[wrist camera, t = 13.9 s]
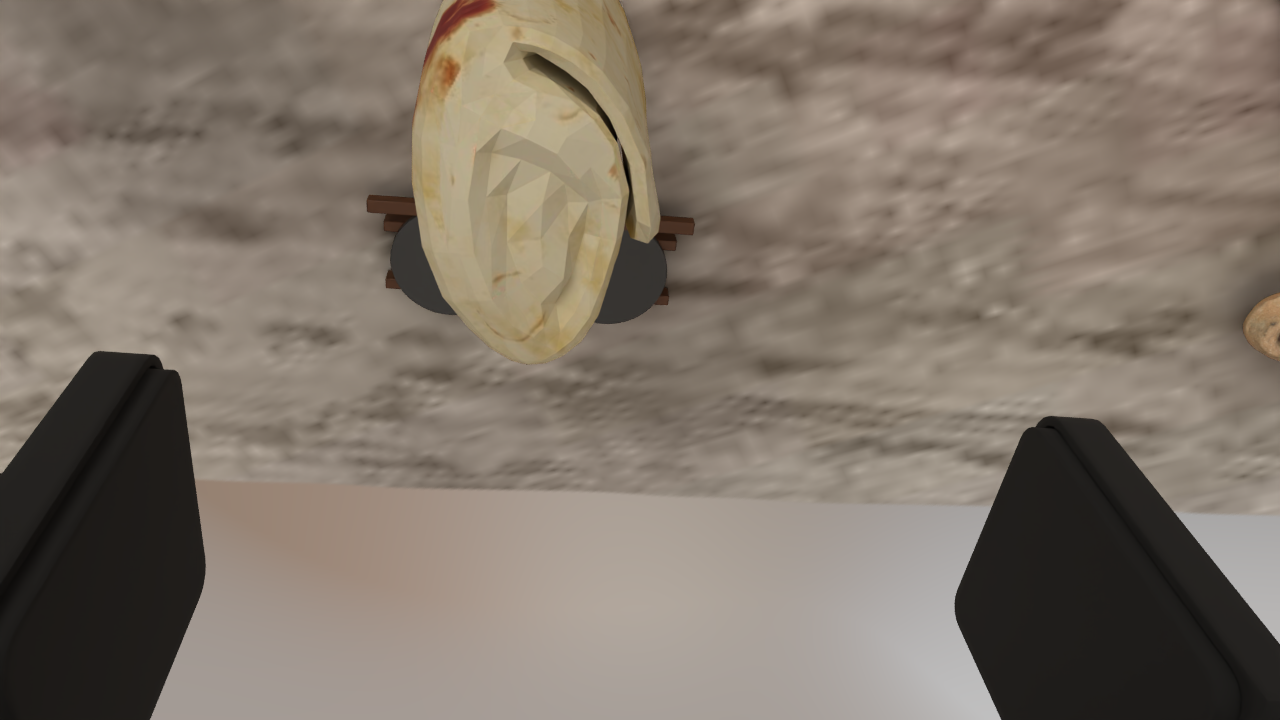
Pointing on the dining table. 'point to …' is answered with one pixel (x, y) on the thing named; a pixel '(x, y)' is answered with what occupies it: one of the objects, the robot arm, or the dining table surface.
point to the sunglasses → (626, 294)
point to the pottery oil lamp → (1265, 327)
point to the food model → (530, 166)
